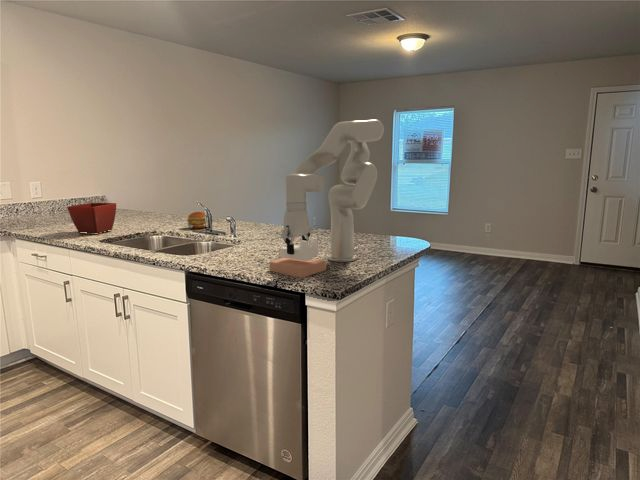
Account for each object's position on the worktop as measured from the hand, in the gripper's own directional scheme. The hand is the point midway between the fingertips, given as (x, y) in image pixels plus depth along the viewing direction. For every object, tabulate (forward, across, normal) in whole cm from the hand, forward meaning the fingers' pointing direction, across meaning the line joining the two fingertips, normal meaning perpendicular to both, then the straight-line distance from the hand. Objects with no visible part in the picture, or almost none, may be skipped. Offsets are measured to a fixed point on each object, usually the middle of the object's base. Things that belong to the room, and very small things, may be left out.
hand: (297, 251), depth 172 cm
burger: (+8, -38, -119) cm, 125 cm away
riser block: (+8, 0, 0) cm, 8 cm away
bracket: (+2, 0, +1) cm, 2 cm away
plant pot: (+7, +9, -156) cm, 156 cm away
